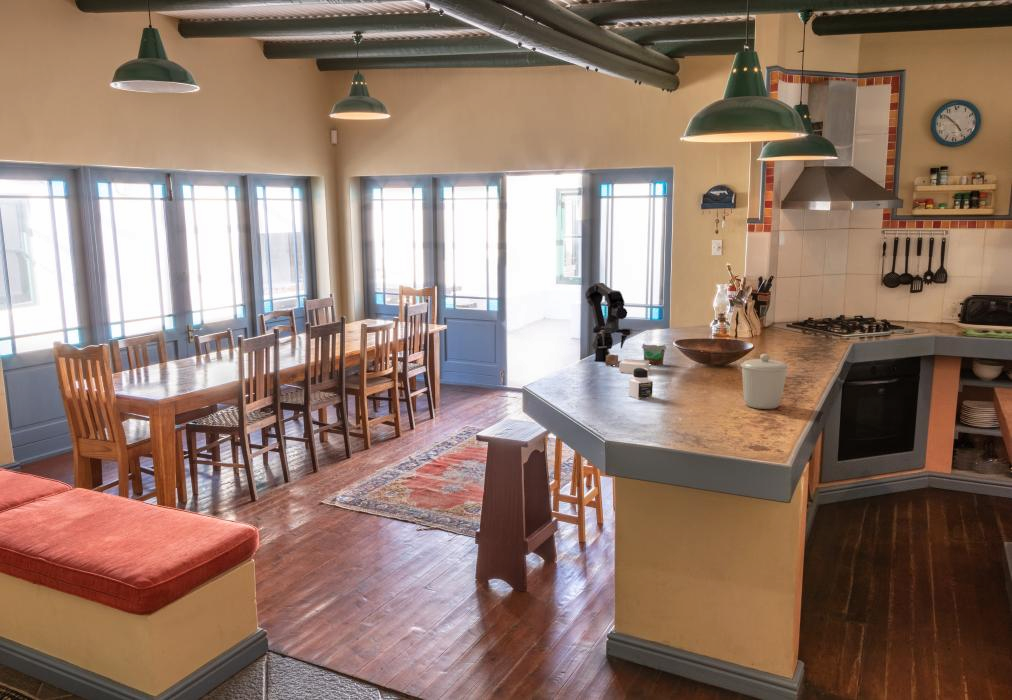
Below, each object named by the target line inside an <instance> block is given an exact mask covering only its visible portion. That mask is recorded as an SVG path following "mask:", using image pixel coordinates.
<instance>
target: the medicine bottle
mask: <svg viewBox="0 0 1012 700" xmlns="http://www.w3.org/2000/svg"><path fill="white" fill-rule="evenodd" d="M632 375H633V376H632V377H633V378H631V379H628V397H630V396H632V397H631V398H633V397H634V398H633V399H636V398H637V399H636V400H641V399H640V398H646V399H648V398H647V397H652V398H653V384H654V383H653V380H650V379H649V371H648V369H646V368H636V369H634V374H632Z"/></svg>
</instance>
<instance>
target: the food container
mask: <svg viewBox="0 0 1012 700" xmlns="http://www.w3.org/2000/svg"><path fill="white" fill-rule="evenodd" d="M641 348H642V351H643V360H648V361H649V364H651V365H650V366H660V365H659V364H662V365H663V364H664V357H665V352H666V351H665V350H667V346H666V344H664V345H663V344H662V345H656V344H645V343H643V344H642V346H641Z"/></svg>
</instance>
